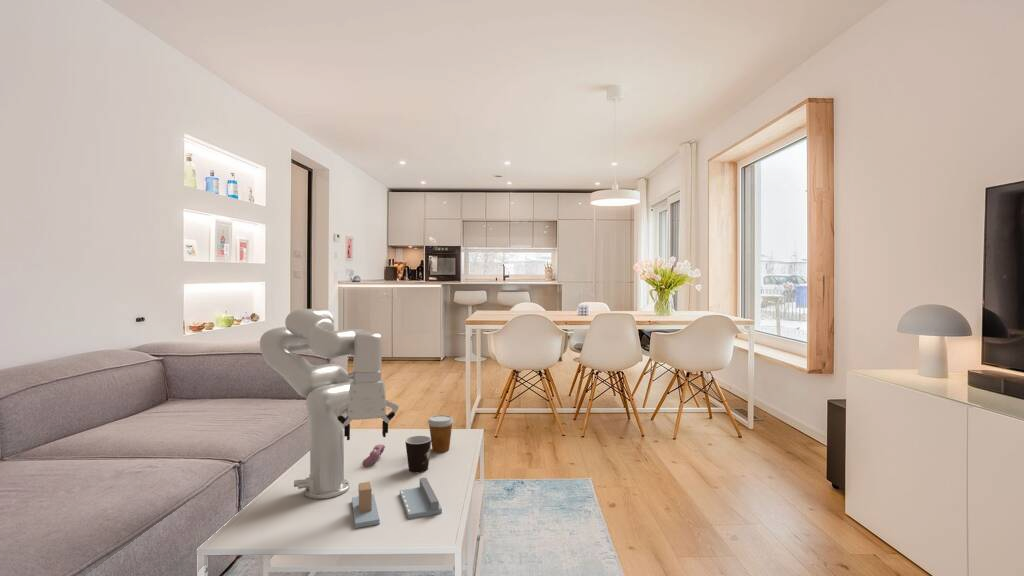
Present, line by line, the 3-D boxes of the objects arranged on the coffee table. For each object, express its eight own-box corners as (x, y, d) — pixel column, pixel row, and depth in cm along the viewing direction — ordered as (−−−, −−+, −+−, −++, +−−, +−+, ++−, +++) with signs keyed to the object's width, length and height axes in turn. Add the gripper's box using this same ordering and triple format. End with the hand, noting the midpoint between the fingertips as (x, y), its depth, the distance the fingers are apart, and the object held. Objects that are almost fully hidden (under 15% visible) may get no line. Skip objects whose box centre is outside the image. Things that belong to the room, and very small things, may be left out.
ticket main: (408, 519, 127) (408, 506, 127) (399, 493, 143) (399, 481, 143) (442, 513, 130) (442, 500, 130) (429, 488, 146) (429, 477, 146)
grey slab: (355, 528, 123) (355, 500, 123) (351, 501, 138) (351, 476, 137) (379, 523, 125) (379, 496, 125) (373, 498, 140) (373, 473, 140)
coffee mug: (417, 476, 156) (417, 445, 156) (400, 470, 161) (399, 440, 161) (443, 465, 165) (443, 436, 165) (425, 460, 170) (425, 431, 170)
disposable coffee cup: (458, 448, 182) (458, 416, 182) (442, 456, 174) (442, 423, 174) (438, 444, 187) (438, 413, 187) (422, 451, 179) (422, 419, 179)
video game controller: (372, 471, 164) (381, 453, 164) (360, 465, 164) (369, 447, 164) (380, 461, 174) (389, 443, 173) (369, 455, 174) (377, 438, 173)
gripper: (334, 381, 128) (333, 444, 128) (400, 378, 133) (399, 439, 134) (334, 375, 135) (333, 435, 135) (397, 372, 140) (396, 430, 141)
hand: (366, 437), depth 135 cm, fingers open, 9 cm apart
